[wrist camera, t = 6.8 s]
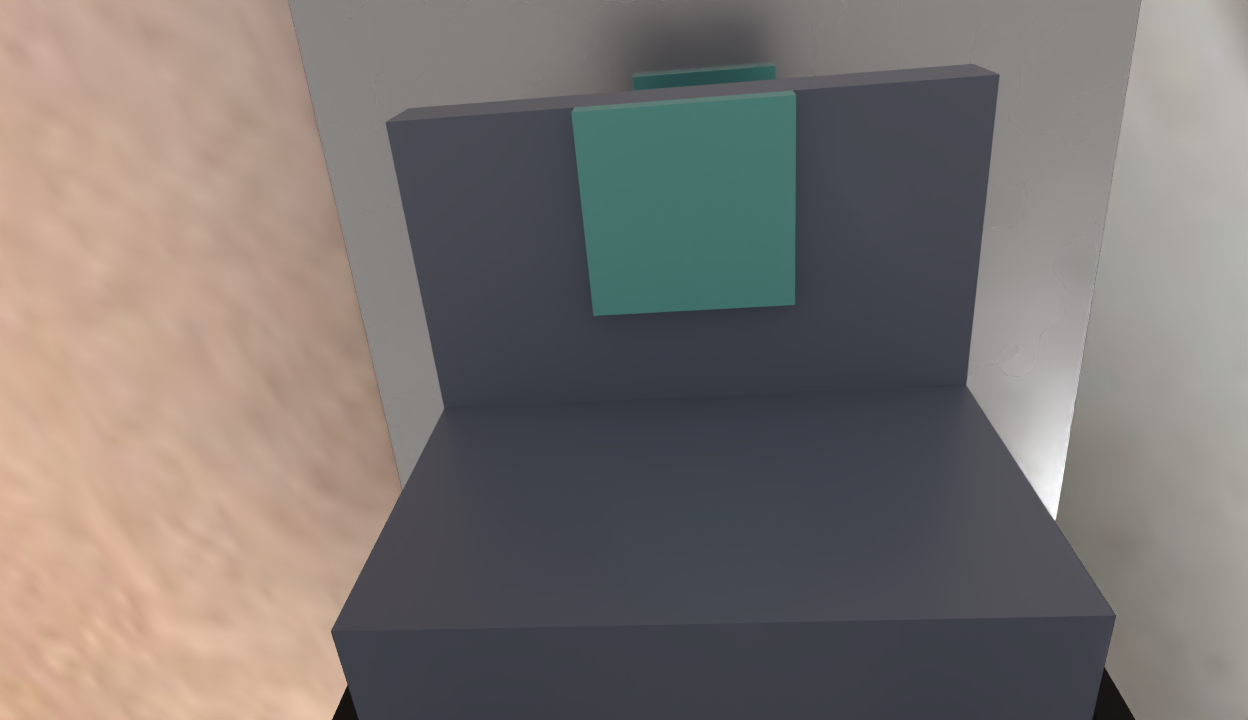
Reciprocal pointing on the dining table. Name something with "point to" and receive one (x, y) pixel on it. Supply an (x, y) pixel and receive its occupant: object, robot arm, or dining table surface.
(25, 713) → the dining table surface
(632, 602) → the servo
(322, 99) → the chassis
